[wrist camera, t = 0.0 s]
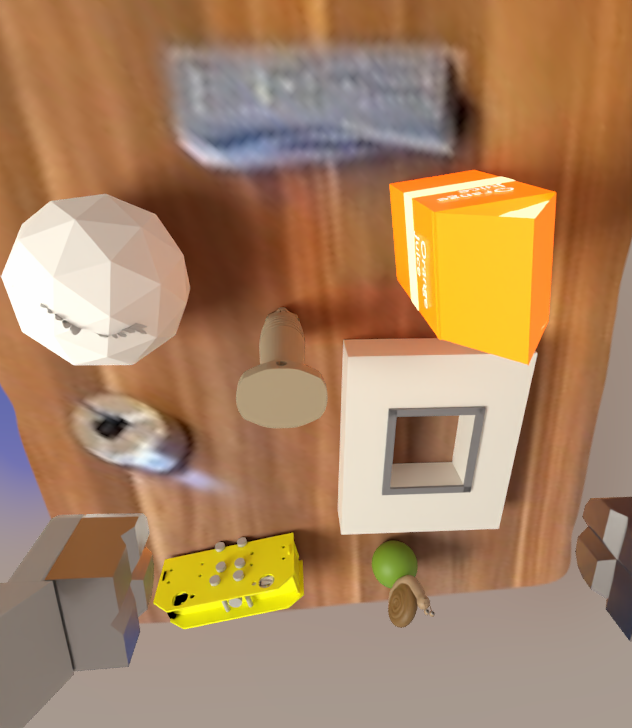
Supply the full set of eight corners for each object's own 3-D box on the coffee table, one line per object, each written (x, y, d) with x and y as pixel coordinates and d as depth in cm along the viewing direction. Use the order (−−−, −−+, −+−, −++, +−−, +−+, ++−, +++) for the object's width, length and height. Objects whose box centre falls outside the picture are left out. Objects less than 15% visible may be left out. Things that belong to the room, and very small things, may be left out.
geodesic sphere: (247, 221, 39) (85, 226, 28) (224, 375, 45) (82, 430, 34) (127, 177, 45) (-44, 167, 34) (120, 318, 51) (-28, 348, 40)
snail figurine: (424, 533, 62) (453, 620, 51) (397, 567, 65) (419, 657, 54) (387, 519, 61) (409, 606, 50) (360, 555, 63) (376, 644, 52)
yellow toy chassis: (292, 524, 61) (293, 581, 53) (302, 557, 63) (305, 616, 56) (165, 551, 61) (148, 611, 54) (180, 583, 64) (166, 644, 56)
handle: (315, 344, 50) (326, 427, 37) (250, 344, 50) (237, 428, 36) (316, 297, 48) (328, 368, 34) (248, 297, 48) (234, 369, 34)
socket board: (343, 339, 50) (348, 358, 46) (519, 336, 51) (538, 354, 47) (337, 509, 60) (341, 536, 56) (486, 504, 61) (499, 530, 57)
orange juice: (395, 280, 48) (463, 378, 30) (387, 183, 44) (459, 228, 26) (477, 266, 47) (594, 357, 30) (476, 168, 44) (611, 203, 26)
